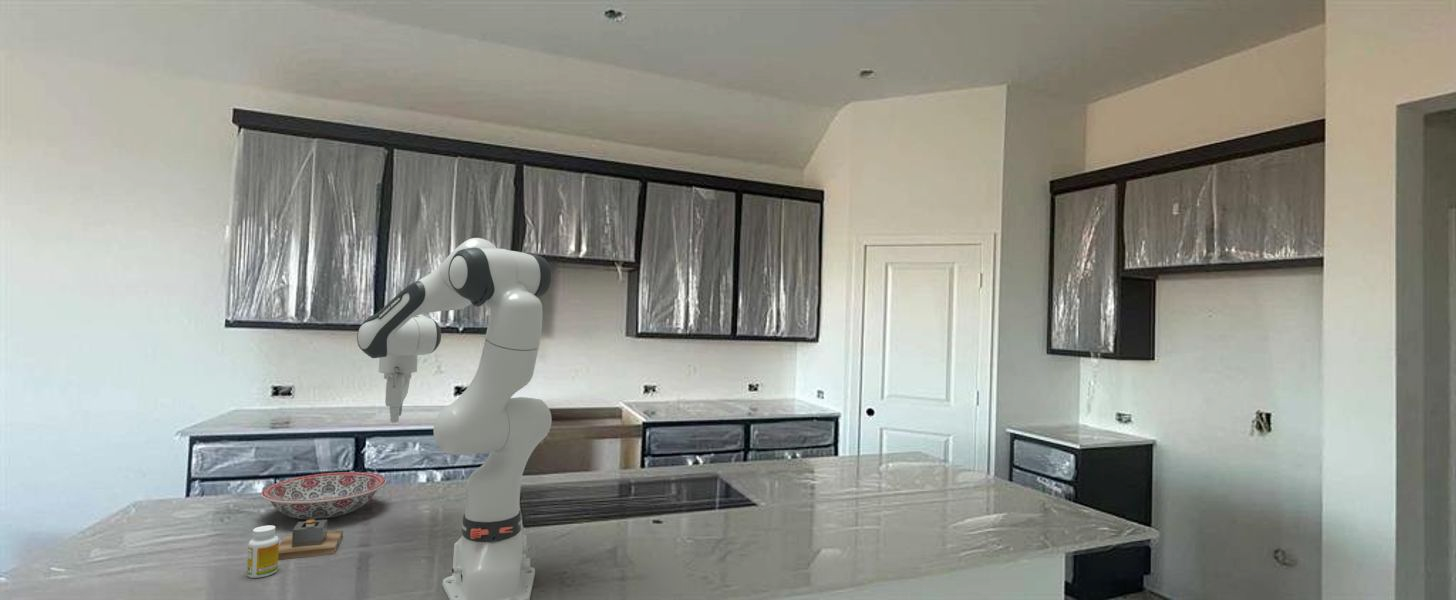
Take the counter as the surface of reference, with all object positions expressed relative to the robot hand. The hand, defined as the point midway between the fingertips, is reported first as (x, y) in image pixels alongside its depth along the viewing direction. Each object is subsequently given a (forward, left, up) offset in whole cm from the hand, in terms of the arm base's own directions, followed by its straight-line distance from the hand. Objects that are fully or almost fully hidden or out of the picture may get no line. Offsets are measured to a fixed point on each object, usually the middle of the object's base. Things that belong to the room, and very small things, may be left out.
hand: (396, 418), depth 165 cm
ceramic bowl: (+20, +18, -29) cm, 40 cm away
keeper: (-6, +17, -29) cm, 34 cm away
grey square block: (-6, +17, -28) cm, 33 cm away
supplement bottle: (-19, +23, -29) cm, 42 cm away
